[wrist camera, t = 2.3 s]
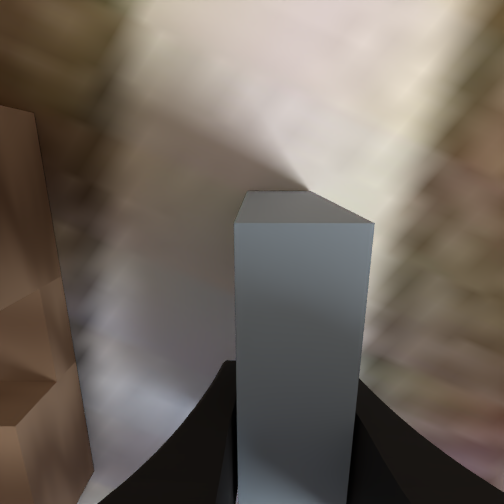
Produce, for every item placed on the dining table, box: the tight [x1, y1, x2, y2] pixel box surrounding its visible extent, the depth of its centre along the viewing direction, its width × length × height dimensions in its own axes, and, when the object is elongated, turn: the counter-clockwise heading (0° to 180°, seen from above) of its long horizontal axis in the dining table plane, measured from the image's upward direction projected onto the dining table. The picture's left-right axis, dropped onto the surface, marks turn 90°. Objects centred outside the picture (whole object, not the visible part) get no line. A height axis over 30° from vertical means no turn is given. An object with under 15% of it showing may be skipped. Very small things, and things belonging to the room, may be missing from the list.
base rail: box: [0, 105, 94, 504], centre depth 13 cm, size 18×3×4 cm, turn 0°
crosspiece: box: [234, 191, 375, 504], centre depth 11 cm, size 12×3×8 cm, turn 0°
